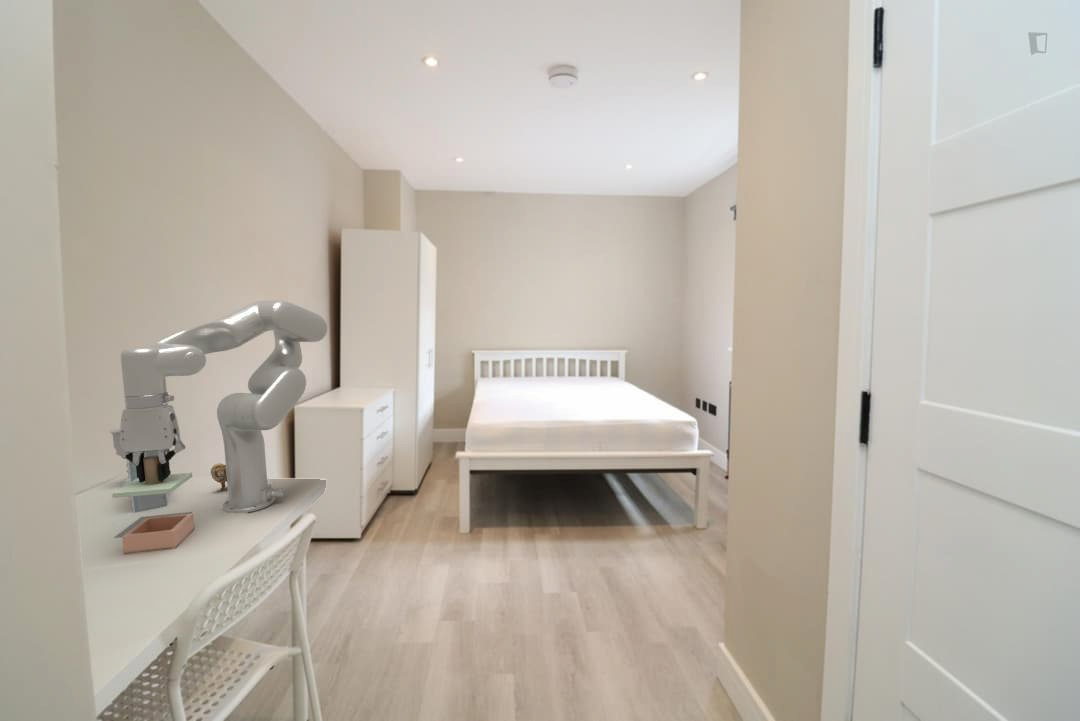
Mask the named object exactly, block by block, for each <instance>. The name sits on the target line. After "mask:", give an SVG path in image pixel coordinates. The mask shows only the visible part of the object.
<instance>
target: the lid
mask: <svg viewBox="0 0 1080 721" xmlns="http://www.w3.org/2000/svg"><path fill="white" fill-rule="evenodd" d="M143 463H144V473H145V481H144V482H141V483H140V482H139V478H137V479H135V480H134V481H132V482H130V483H129V484H127V485H125V486H124V487H122V486H121V487H122V488H121V487H120V488H119V489H117V490H115V491H114V492H112V493H111V496H112V499H115V498H118V499H119V498H127V497H131V496H141V495H152V494H164V493H168V494H171V493H172V492H174V491H176V490H177V489H178V488H179V487H180V486H182V485H183V484H184V483H186V482H187V481H189V480H190V479H191V478H193V472H186V473H185V472H184V473H174V474H173V473H170V474H169V476H168V478H166V479H165V480H163V481H160V480H159V479H158V468H157V465H158V464H160V462H159V457H158V455H154V456H148V457H145V458H143Z"/></svg>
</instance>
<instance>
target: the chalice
mask: <svg viewBox="0 0 1080 721" xmlns="http://www.w3.org/2000/svg"><path fill="white" fill-rule="evenodd" d="M109 432H110V434H111V435H112V440H113V441H112V442H113V448H114V449H115V452H116V451H117V450H118V448H119V446H120V444H121V439H120V427H119V428H116V429H112V430H110V431H109ZM120 457H121V458H122V459H123V460H126V461H127V458H125V457H122V456H120ZM125 466H126V468H127V469H126V472H127V474H128V476H127V478H125V479H124V480H123V482H122V485H121V487H120V488H122V487H124V486H125V485H127V484H129V483H130V481H129V473H128V464H127V463H126V465H125Z"/></svg>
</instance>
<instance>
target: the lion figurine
mask: <svg viewBox="0 0 1080 721" xmlns="http://www.w3.org/2000/svg"><path fill="white" fill-rule="evenodd" d="M210 475H211V478H212V479H213V480H214V481H215V482H216V483H219V484H220V485H221V487H220V489H219V491H221V490H222V491H224V490H225V489H226V483H227V474H226V464H223V463H216V464H213V466H212V467H211V468H210ZM223 489H224V490H223ZM226 491H227V492H228V488H227V489H226Z"/></svg>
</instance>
